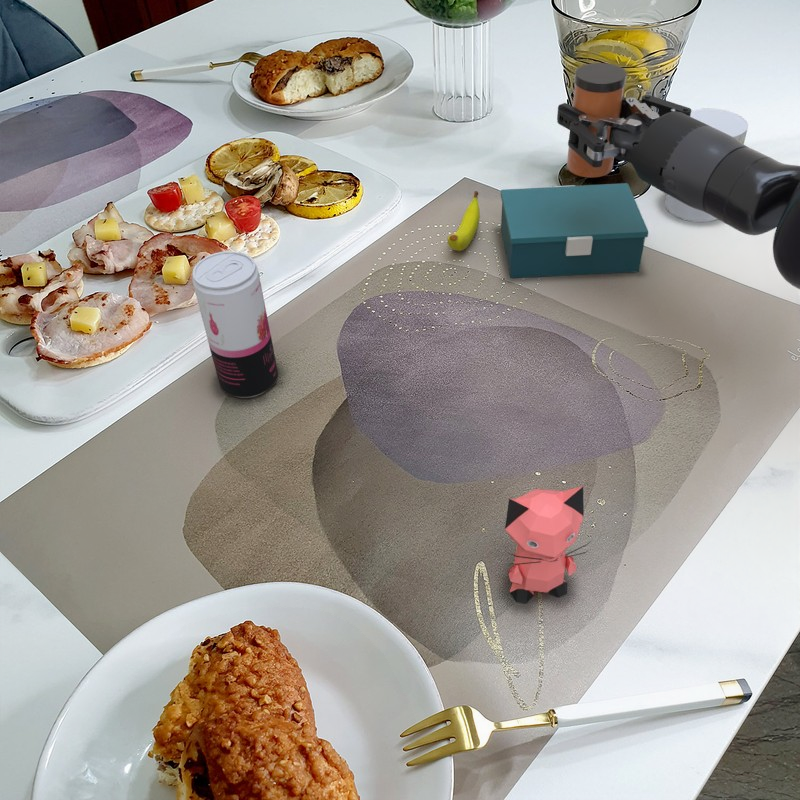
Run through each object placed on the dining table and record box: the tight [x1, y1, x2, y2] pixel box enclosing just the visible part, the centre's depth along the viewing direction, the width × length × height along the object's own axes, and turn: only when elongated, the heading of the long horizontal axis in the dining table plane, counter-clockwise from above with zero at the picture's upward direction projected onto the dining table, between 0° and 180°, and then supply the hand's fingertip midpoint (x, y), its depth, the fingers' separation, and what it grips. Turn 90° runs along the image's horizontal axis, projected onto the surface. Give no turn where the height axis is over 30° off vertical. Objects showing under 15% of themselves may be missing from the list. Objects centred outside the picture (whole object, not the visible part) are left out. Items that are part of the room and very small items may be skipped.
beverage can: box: [192, 250, 279, 399], centre depth 90 cm, size 7×7×15 cm
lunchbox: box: [500, 182, 649, 279], centre depth 109 cm, size 16×12×6 cm
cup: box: [664, 107, 749, 223], centre depth 113 cm, size 8×8×12 cm
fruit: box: [446, 190, 481, 252], centre depth 111 cm, size 10×2×5 cm, turn 159°
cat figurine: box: [504, 486, 594, 604], centre depth 71 cm, size 7×7×12 cm
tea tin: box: [566, 62, 627, 178], centre depth 95 cm, size 5×5×11 cm
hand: (580, 105), depth 96 cm, fingers closed on tea tin, 5 cm apart
